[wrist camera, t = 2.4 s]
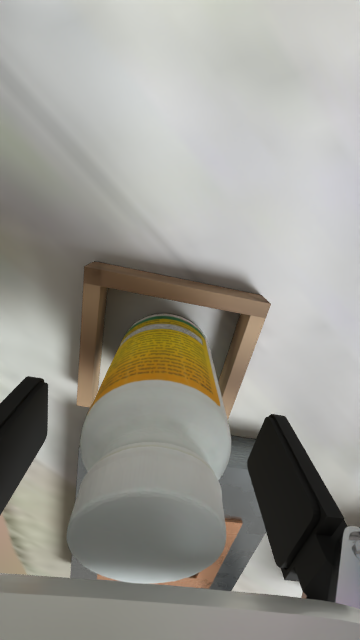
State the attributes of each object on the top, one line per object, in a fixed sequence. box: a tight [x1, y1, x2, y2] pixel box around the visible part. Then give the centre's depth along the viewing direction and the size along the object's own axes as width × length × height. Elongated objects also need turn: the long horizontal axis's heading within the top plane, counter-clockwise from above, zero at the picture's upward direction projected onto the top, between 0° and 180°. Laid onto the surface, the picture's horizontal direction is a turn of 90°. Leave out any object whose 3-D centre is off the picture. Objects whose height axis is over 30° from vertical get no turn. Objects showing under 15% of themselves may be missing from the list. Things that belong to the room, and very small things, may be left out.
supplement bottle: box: [67, 314, 231, 584], centre depth 10 cm, size 5×5×10 cm
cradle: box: [77, 261, 271, 419], centre depth 14 cm, size 8×9×2 cm
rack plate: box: [70, 436, 266, 591], centre depth 20 cm, size 20×14×3 cm
